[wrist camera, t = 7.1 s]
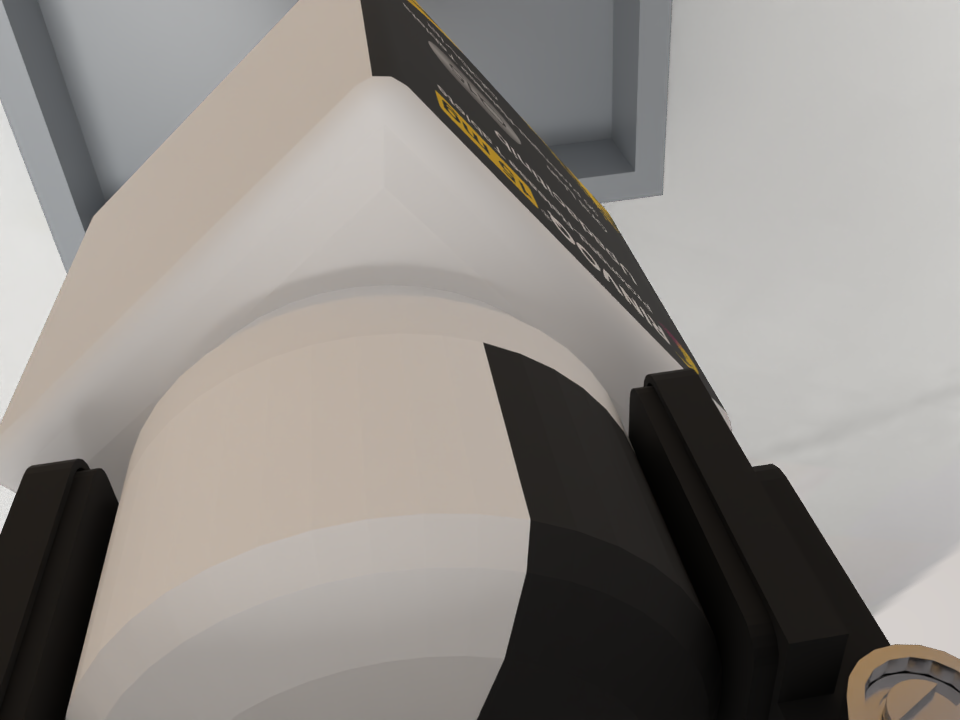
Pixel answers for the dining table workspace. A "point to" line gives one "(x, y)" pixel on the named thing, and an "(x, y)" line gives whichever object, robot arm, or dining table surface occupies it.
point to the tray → (246, 21)
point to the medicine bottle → (365, 408)
